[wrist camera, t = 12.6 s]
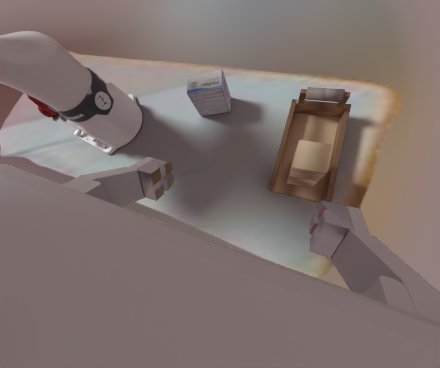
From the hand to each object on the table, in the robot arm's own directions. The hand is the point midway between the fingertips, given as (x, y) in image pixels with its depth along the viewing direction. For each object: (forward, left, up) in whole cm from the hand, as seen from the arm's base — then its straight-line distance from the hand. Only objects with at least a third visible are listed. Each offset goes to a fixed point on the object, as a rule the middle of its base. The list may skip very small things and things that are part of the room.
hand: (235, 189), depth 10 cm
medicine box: (-17, +23, -29) cm, 41 cm away
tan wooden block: (+5, +10, -28) cm, 30 cm away
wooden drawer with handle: (+6, +15, -28) cm, 33 cm away
